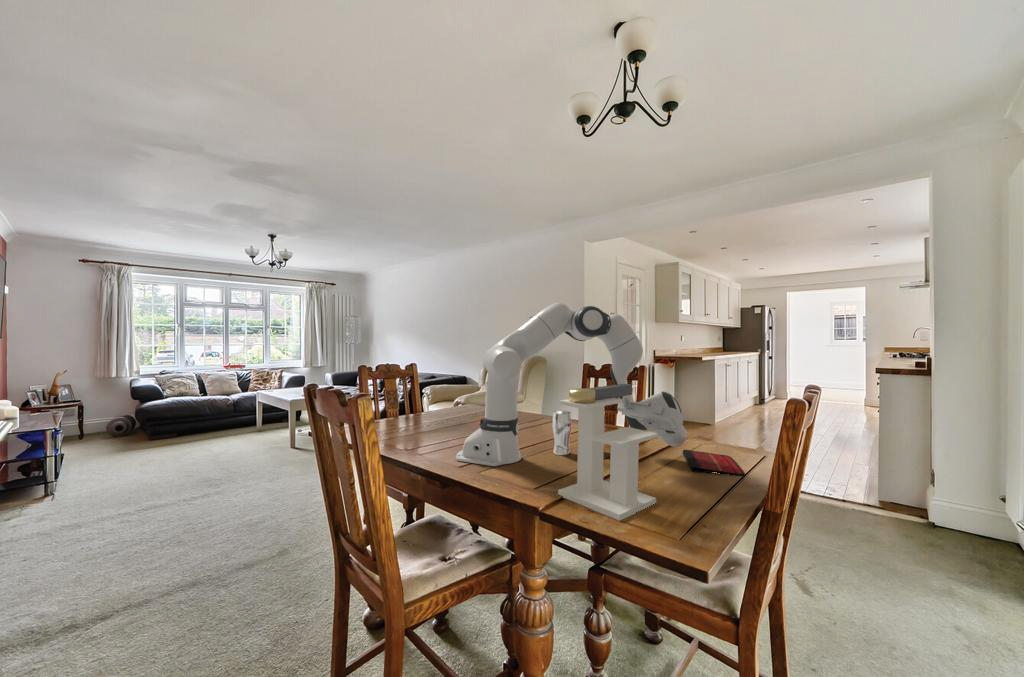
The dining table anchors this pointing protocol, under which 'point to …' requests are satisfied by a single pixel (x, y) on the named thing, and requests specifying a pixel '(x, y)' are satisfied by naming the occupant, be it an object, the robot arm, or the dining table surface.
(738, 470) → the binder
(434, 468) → the dining table surface
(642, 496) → the rack
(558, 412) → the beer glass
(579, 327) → the robot arm
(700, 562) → the dining table surface
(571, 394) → the grey and gold bar
